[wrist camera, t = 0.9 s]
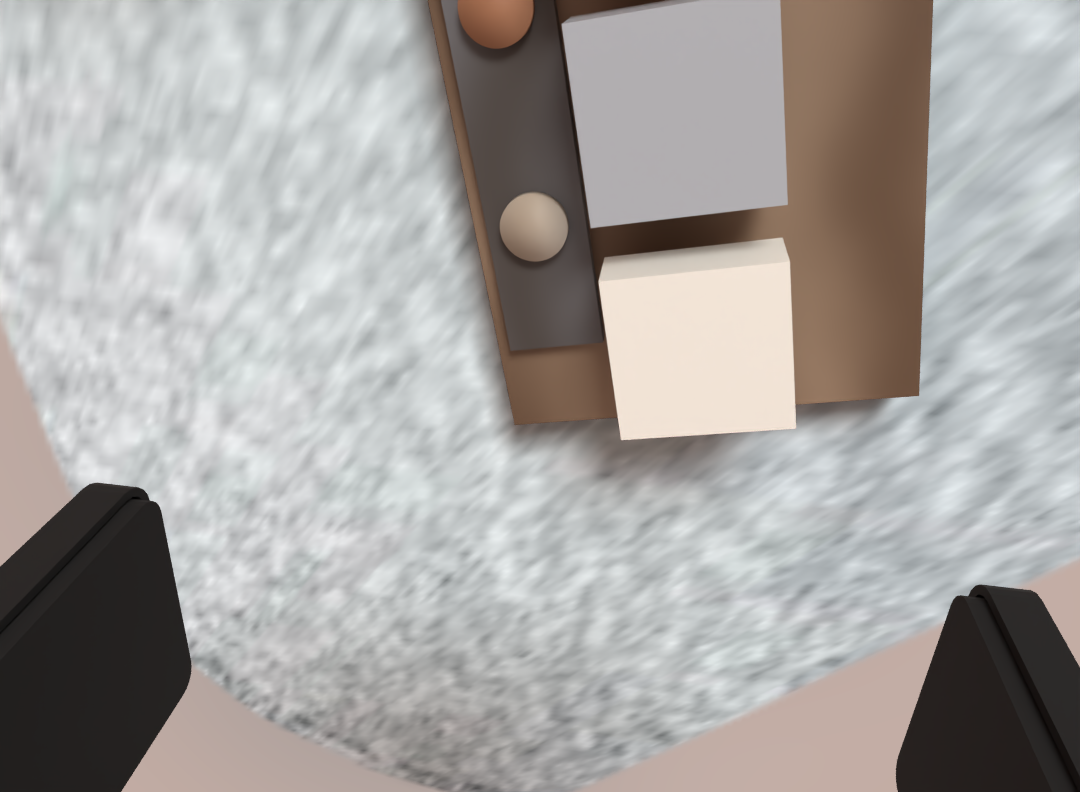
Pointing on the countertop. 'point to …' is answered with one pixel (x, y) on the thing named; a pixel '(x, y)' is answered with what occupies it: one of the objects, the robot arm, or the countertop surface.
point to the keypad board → (804, 224)
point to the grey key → (678, 108)
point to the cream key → (700, 339)
